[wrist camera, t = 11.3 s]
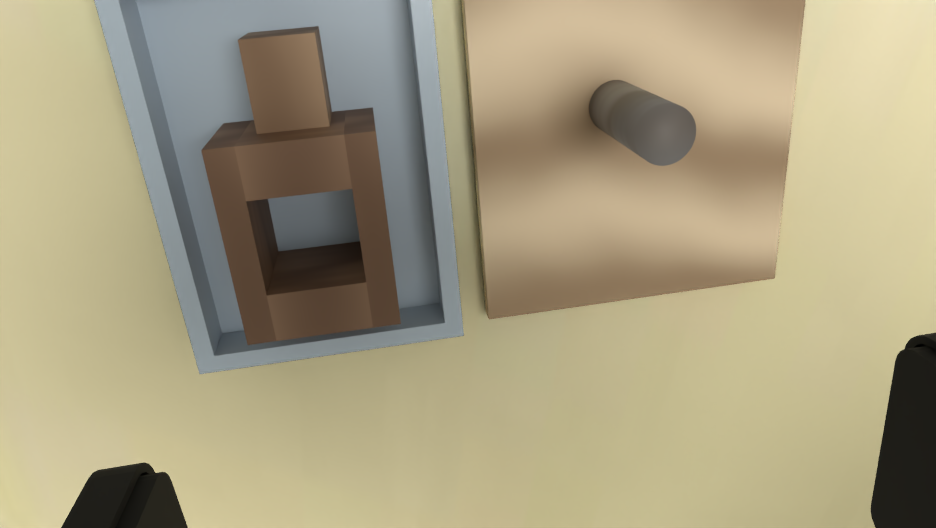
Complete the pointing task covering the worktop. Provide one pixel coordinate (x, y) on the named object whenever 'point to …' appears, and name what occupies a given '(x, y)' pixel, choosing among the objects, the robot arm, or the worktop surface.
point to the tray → (302, 216)
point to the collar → (298, 173)
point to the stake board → (603, 185)
